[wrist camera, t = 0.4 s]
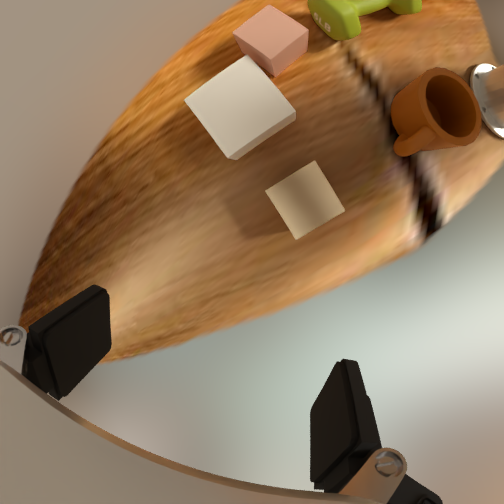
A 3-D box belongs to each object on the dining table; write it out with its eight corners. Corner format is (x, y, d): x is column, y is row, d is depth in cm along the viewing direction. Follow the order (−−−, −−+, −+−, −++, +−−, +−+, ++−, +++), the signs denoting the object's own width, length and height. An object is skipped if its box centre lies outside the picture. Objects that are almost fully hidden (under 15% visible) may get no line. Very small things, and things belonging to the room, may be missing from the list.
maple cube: (311, 163, 31) (314, 160, 26) (336, 204, 32) (345, 210, 27) (270, 188, 33) (264, 190, 27) (296, 228, 34) (296, 239, 28)
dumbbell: (338, 53, 27) (347, 28, 20) (300, 15, 25) (300, -13, 19) (417, 20, 22) (435, -1, 15) (382, -14, 21) (393, -38, 14)
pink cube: (273, 26, 27) (269, 4, 21) (307, 51, 27) (308, 29, 21) (242, 52, 28) (232, 32, 23) (275, 77, 29) (271, 59, 23)
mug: (359, 117, 29) (379, 97, 20) (419, 79, 25) (448, 56, 17) (399, 176, 30) (431, 176, 21) (455, 134, 26) (492, 125, 18)
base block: (254, 69, 29) (247, 54, 24) (295, 120, 30) (295, 111, 26) (198, 108, 32) (183, 99, 27) (236, 160, 33) (227, 158, 28)
